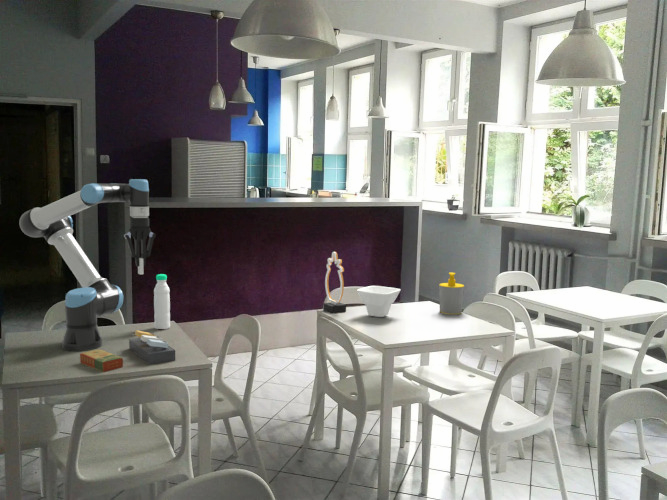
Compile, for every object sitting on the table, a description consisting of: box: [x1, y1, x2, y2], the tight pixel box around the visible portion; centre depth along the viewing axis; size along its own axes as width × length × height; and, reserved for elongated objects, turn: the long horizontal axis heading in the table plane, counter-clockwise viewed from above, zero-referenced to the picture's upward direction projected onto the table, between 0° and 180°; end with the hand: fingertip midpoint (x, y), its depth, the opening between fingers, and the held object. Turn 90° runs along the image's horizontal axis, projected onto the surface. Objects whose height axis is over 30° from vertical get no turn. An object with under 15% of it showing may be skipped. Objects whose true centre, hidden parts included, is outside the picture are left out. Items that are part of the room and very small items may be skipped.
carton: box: [79, 348, 124, 373], centre depth 227 cm, size 8×16×4 cm, turn 50°
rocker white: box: [140, 335, 163, 342], centre depth 241 cm, size 7×4×2 cm, turn 125°
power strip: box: [128, 337, 176, 365], centre depth 245 cm, size 10×33×5 cm, turn 35°
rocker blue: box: [147, 339, 170, 348], centre depth 235 cm, size 7×4×2 cm, turn 125°
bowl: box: [356, 285, 401, 318], centre depth 315 cm, size 19×19×14 cm
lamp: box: [322, 251, 347, 314], centre depth 325 cm, size 17×9×32 cm, turn 31°
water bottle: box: [153, 273, 171, 330], centre depth 283 cm, size 7×7×25 cm
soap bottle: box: [438, 272, 465, 315], centre depth 328 cm, size 13×13×21 cm
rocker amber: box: [134, 329, 156, 338], centre depth 248 cm, size 7×4×2 cm, turn 125°
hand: (140, 273), depth 255 cm, fingers closed
